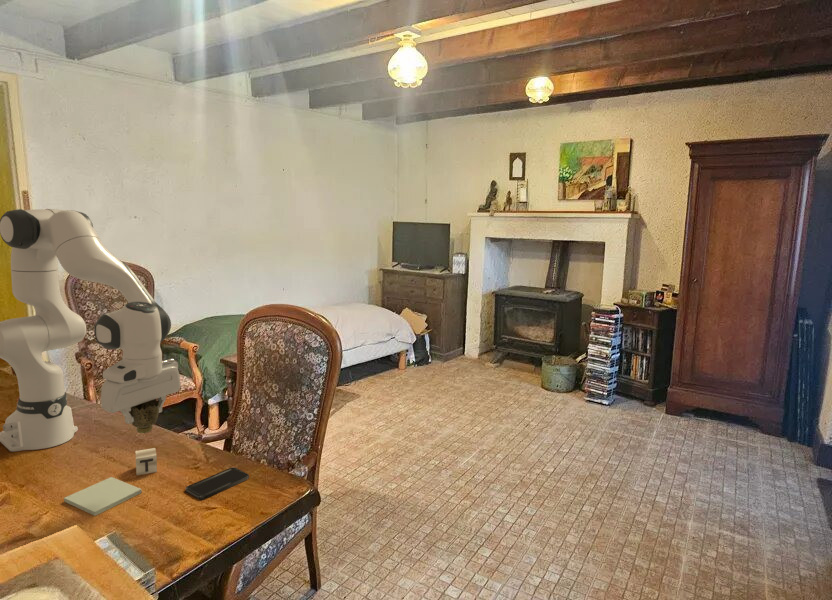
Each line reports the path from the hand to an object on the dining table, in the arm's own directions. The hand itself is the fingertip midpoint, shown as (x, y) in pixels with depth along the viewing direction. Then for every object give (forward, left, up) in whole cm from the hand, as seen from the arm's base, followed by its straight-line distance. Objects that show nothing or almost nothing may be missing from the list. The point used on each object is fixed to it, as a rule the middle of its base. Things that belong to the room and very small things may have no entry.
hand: (144, 417), depth 132 cm
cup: (0, 0, -4) cm, 4 cm away
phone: (+16, +10, -19) cm, 27 cm away
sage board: (-3, -9, -19) cm, 21 cm away
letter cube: (-7, +5, -19) cm, 21 cm away
